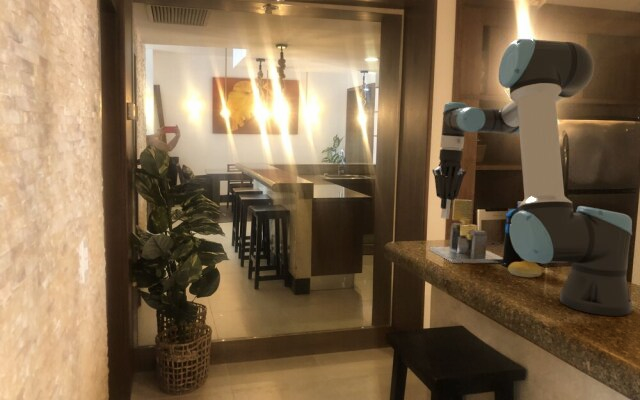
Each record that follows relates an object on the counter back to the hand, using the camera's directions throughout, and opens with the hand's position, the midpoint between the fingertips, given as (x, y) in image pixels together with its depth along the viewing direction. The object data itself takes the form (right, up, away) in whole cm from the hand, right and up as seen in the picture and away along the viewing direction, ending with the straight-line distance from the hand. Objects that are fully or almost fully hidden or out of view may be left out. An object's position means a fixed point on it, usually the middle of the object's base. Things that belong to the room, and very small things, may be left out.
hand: (444, 218), depth 182 cm
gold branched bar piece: (+6, -5, -5) cm, 9 cm away
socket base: (+5, -12, -7) cm, 15 cm away
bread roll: (+17, -16, -27) cm, 36 cm away
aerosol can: (+17, -14, -18) cm, 29 cm away
